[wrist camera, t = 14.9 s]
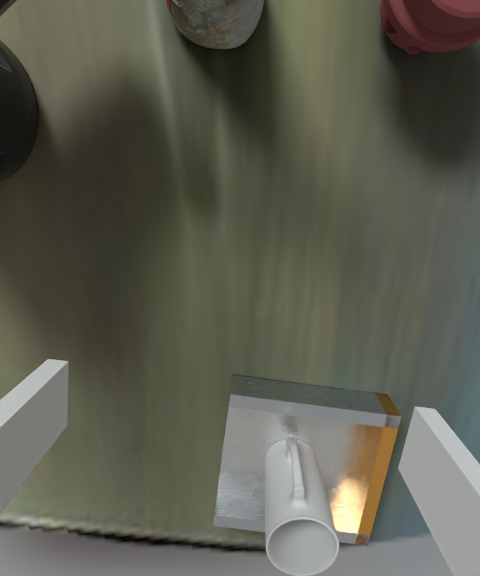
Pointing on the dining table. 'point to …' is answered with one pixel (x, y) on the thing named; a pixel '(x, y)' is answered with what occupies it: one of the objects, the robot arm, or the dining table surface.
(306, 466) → the mug
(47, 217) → the dining table surface
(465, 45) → the mechanical component
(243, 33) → the bottle
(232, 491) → the channel
